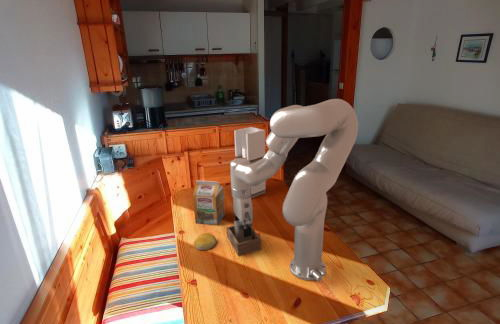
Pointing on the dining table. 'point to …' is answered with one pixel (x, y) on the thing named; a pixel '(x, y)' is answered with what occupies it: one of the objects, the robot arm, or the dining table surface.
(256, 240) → the open box
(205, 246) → the bread roll
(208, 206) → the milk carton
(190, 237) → the dining table surface
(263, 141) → the light grey boxy piece
